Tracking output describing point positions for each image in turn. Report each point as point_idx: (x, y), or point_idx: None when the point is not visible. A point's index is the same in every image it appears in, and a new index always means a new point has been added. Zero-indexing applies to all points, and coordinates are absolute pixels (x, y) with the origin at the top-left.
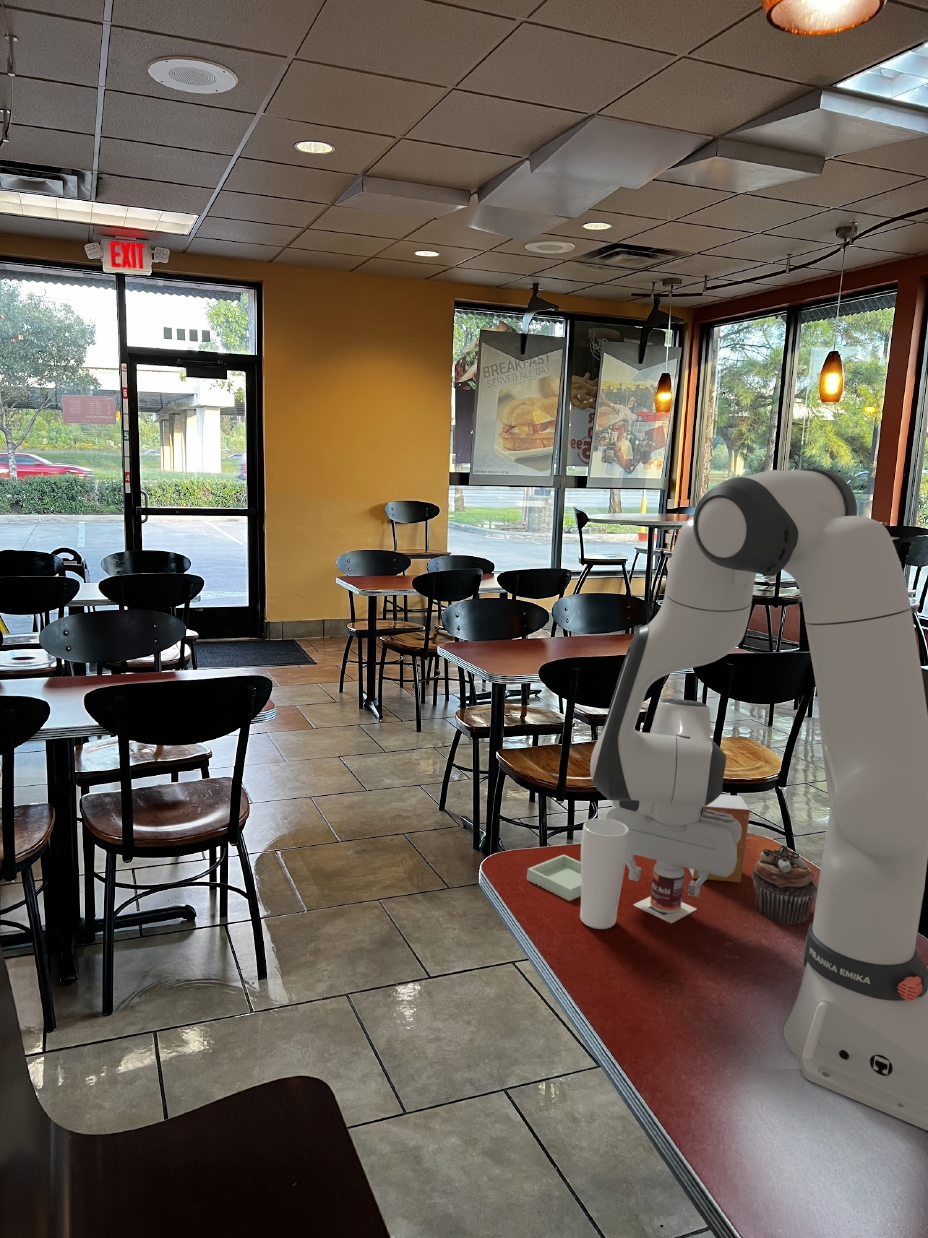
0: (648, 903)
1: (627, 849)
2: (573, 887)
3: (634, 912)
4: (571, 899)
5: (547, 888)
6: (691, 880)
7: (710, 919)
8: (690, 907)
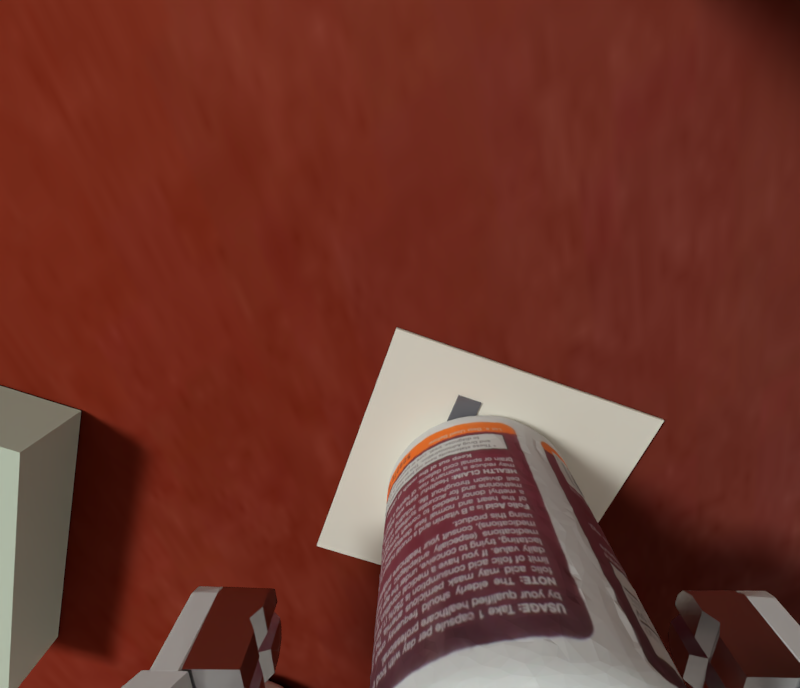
0: (382, 497)
1: None
2: (1, 679)
3: (348, 592)
4: (55, 630)
5: None
6: (750, 682)
7: (743, 481)
8: (621, 423)
